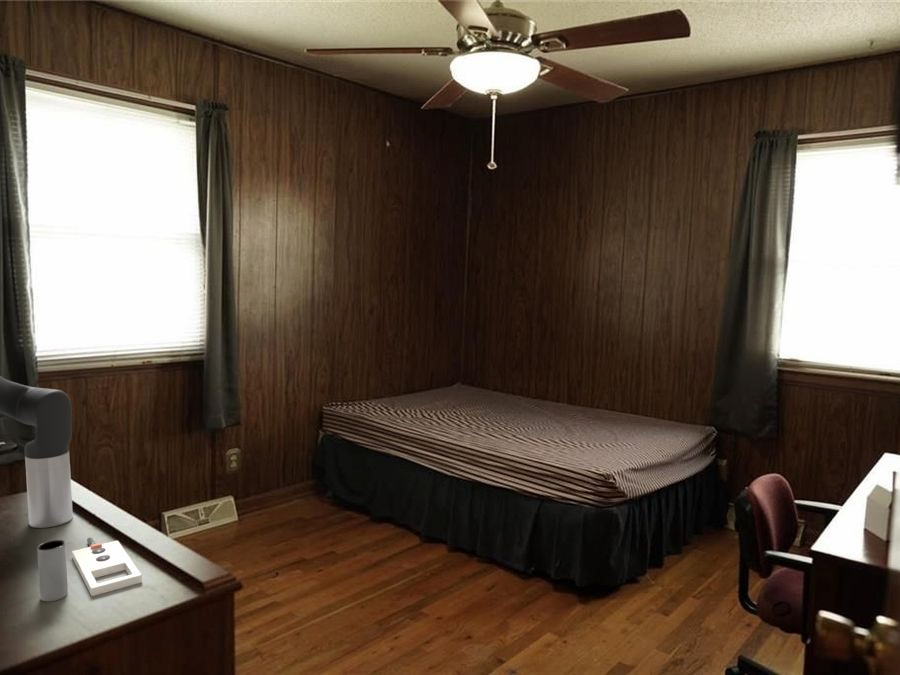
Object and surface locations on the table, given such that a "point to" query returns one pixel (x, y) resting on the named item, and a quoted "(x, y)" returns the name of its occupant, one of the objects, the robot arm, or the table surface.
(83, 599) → the table surface
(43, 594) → the planter
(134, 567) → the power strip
